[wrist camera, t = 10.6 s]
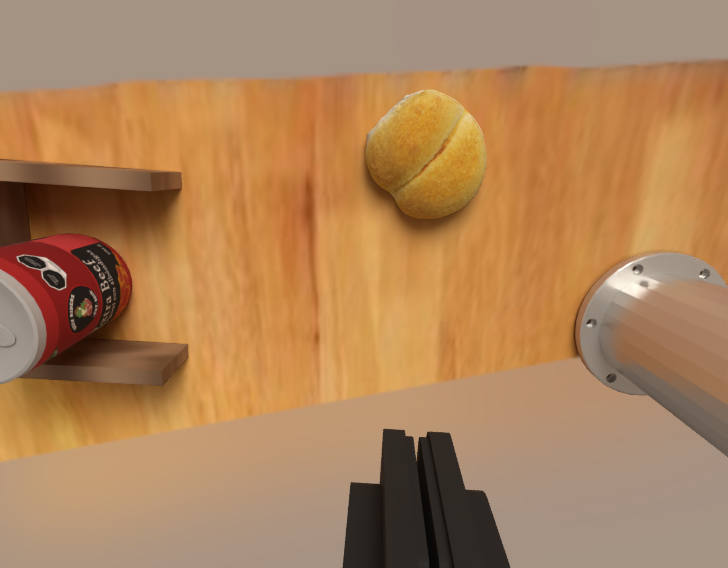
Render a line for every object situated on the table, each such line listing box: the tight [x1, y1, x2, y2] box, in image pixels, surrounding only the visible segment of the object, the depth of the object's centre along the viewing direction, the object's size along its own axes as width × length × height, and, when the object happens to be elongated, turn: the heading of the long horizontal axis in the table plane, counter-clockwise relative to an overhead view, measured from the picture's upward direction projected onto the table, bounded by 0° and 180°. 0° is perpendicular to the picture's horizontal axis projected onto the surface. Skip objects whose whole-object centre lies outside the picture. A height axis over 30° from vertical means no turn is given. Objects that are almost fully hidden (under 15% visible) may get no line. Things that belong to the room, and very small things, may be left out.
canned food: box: [0, 233, 132, 384], centre depth 29 cm, size 8×8×11 cm
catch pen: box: [0, 159, 188, 386], centre depth 32 cm, size 13×15×5 cm
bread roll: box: [365, 90, 487, 219], centre depth 31 cm, size 8×9×4 cm
